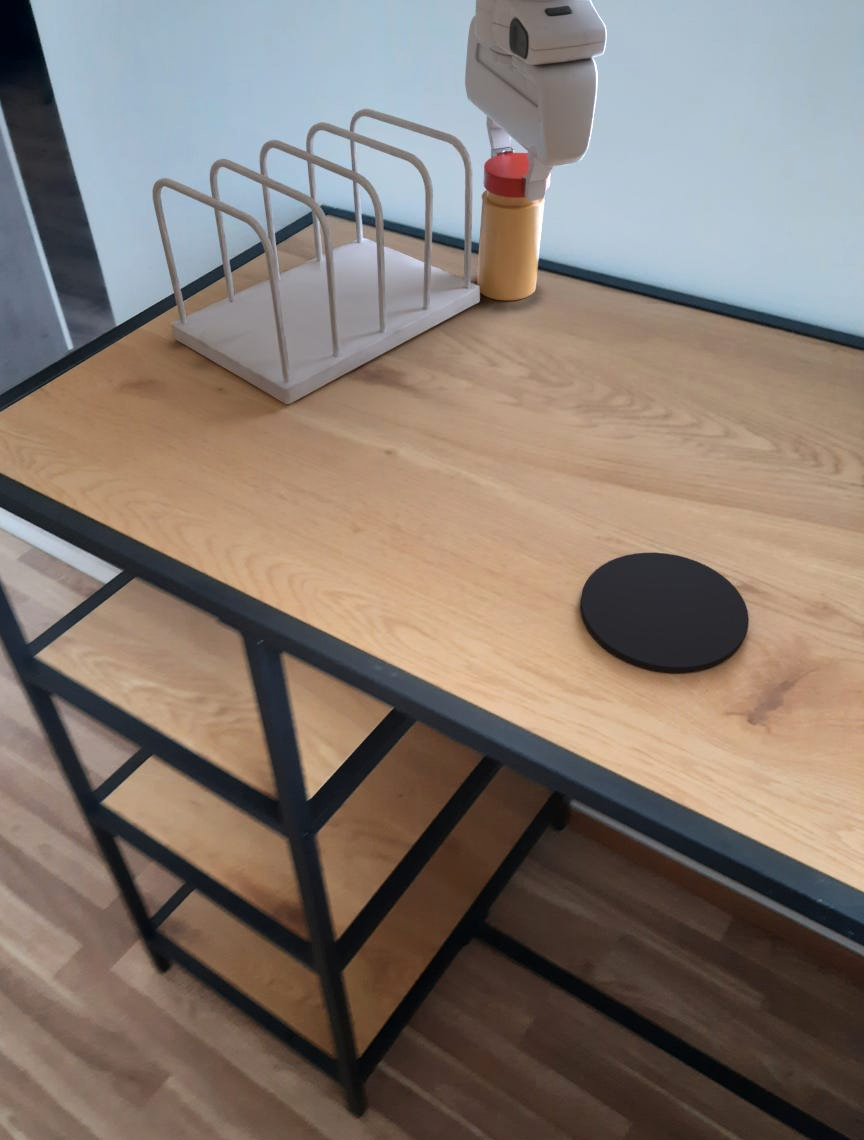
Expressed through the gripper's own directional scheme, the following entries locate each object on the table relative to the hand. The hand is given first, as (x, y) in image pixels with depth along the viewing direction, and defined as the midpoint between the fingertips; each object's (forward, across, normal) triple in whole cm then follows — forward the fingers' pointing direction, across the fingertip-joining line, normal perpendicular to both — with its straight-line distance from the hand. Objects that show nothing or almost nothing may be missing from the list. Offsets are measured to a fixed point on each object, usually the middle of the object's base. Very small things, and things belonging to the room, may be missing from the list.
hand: (516, 182), depth 88 cm
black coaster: (+10, +47, -8) cm, 49 cm away
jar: (+10, 0, 0) cm, 10 cm away
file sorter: (+10, +1, -19) cm, 22 cm away
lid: (-1, 0, 0) cm, 1 cm away
